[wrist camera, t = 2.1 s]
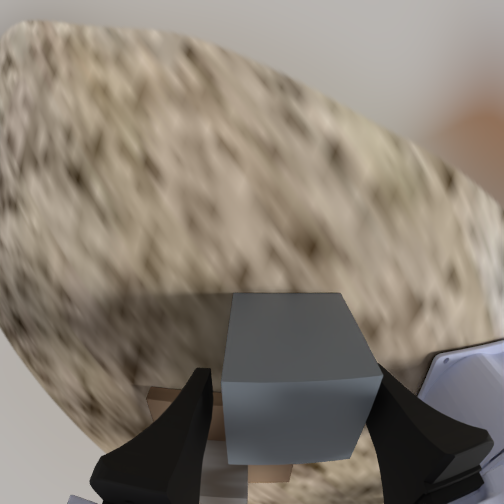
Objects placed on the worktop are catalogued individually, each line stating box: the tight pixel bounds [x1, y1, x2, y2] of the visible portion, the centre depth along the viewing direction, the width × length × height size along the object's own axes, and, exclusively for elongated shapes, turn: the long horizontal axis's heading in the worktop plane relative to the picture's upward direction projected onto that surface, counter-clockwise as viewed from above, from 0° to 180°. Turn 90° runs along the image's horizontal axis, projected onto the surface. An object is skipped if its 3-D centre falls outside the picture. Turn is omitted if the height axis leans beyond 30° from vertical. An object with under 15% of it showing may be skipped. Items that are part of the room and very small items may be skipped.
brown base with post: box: [146, 387, 293, 504], centre depth 17 cm, size 10×11×6 cm
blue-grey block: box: [221, 293, 383, 465], centre depth 13 cm, size 6×6×7 cm
